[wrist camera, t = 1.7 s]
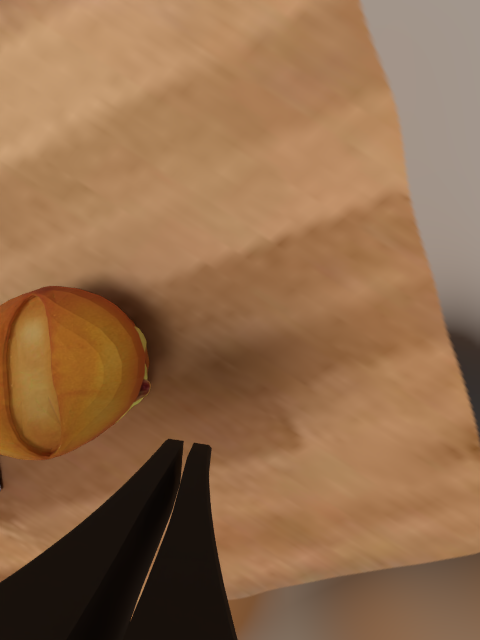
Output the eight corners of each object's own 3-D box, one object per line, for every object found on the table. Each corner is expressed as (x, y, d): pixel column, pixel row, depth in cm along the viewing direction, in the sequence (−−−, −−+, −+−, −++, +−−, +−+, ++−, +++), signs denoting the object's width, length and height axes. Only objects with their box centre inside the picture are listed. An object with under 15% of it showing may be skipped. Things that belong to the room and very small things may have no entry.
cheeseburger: (3, 344, 20) (-207, 391, 10) (109, 260, 20) (7, 222, 10) (93, 433, 21) (-12, 553, 11) (190, 353, 21) (171, 400, 11)
